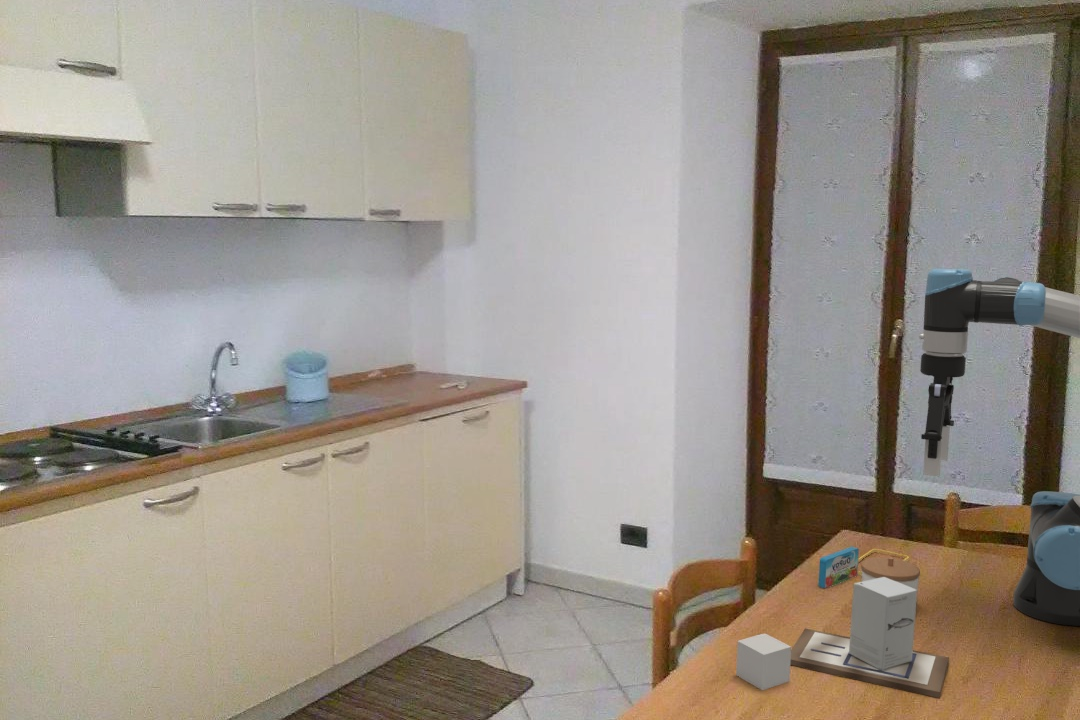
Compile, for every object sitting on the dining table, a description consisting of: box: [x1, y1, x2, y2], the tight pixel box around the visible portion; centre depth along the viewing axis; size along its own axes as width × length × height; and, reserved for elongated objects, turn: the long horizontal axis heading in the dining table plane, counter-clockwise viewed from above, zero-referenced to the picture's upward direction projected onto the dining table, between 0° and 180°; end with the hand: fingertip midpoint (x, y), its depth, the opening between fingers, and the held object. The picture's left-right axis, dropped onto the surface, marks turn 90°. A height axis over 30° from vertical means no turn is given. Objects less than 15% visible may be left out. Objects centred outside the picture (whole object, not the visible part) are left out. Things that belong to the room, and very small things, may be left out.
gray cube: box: [735, 632, 792, 691], centre depth 156 cm, size 6×6×6 cm
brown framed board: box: [790, 627, 950, 699], centre depth 162 cm, size 24×14×1 cm, turn 62°
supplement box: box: [849, 577, 918, 670], centre depth 161 cm, size 7×7×13 cm
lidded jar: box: [860, 556, 921, 591], centre depth 188 cm, size 11×11×9 cm
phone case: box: [857, 548, 910, 576], centre depth 210 cm, size 8×17×1 cm, turn 140°
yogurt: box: [817, 546, 860, 589], centre depth 200 cm, size 12×2×6 cm, turn 130°
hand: (935, 467), depth 179 cm, fingers open, 13 cm apart
